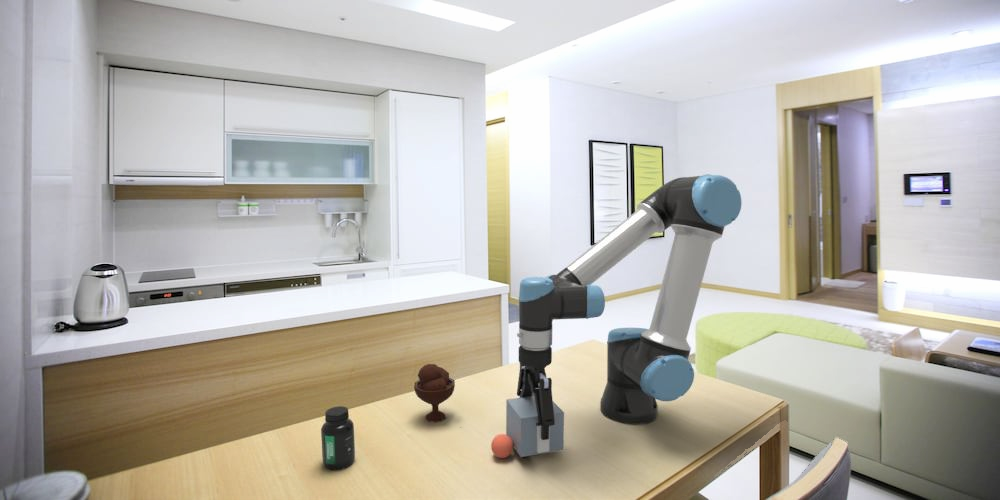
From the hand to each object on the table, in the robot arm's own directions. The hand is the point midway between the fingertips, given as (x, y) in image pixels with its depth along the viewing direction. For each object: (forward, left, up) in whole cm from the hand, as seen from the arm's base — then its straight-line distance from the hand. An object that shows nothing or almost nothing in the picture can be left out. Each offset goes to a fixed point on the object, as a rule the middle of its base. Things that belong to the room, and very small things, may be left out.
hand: (533, 439), depth 107 cm
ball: (+8, 0, 0) cm, 8 cm away
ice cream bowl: (+19, -24, -3) cm, 31 cm away
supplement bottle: (+43, -9, -3) cm, 44 cm away
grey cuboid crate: (0, 0, -1) cm, 1 cm away
